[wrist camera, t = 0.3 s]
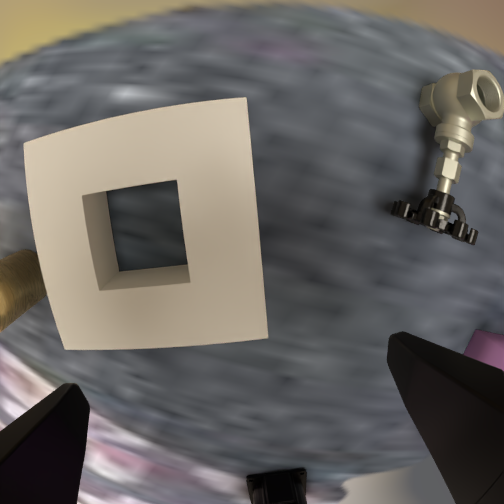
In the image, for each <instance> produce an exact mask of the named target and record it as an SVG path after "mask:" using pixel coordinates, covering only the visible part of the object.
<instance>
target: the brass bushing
mask: <svg viewBox="0 0 504 504" xmlns="http://www.w3.org/2000/svg"><path fill="white" fill-rule="evenodd" d="M46 294H47V291H46V287H45V283H44V279H43V275H42V271H41V267H40V262H39V258H38V255H37V254H36V253H35V252H33V251H31V250H26V249H25V250H20V251H18V252H16V253H14V254H11V255H9V256H7V257H5V258H3V259H1V260H0V332H2V331H3V330H4V329H5V328H6V327H8V326H9V325H10V324H11V323H13V322H14V321H15V320H16V319H17V318H19V317H20V316H21V315H22V314H24V313H25V312H26V311H27V310H29V309H30V308H31V307H33V306H34V305H35V304H36V303H38V302H39V301H40V300H42V299H43V298H44V297H45V296H46Z"/></svg>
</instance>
